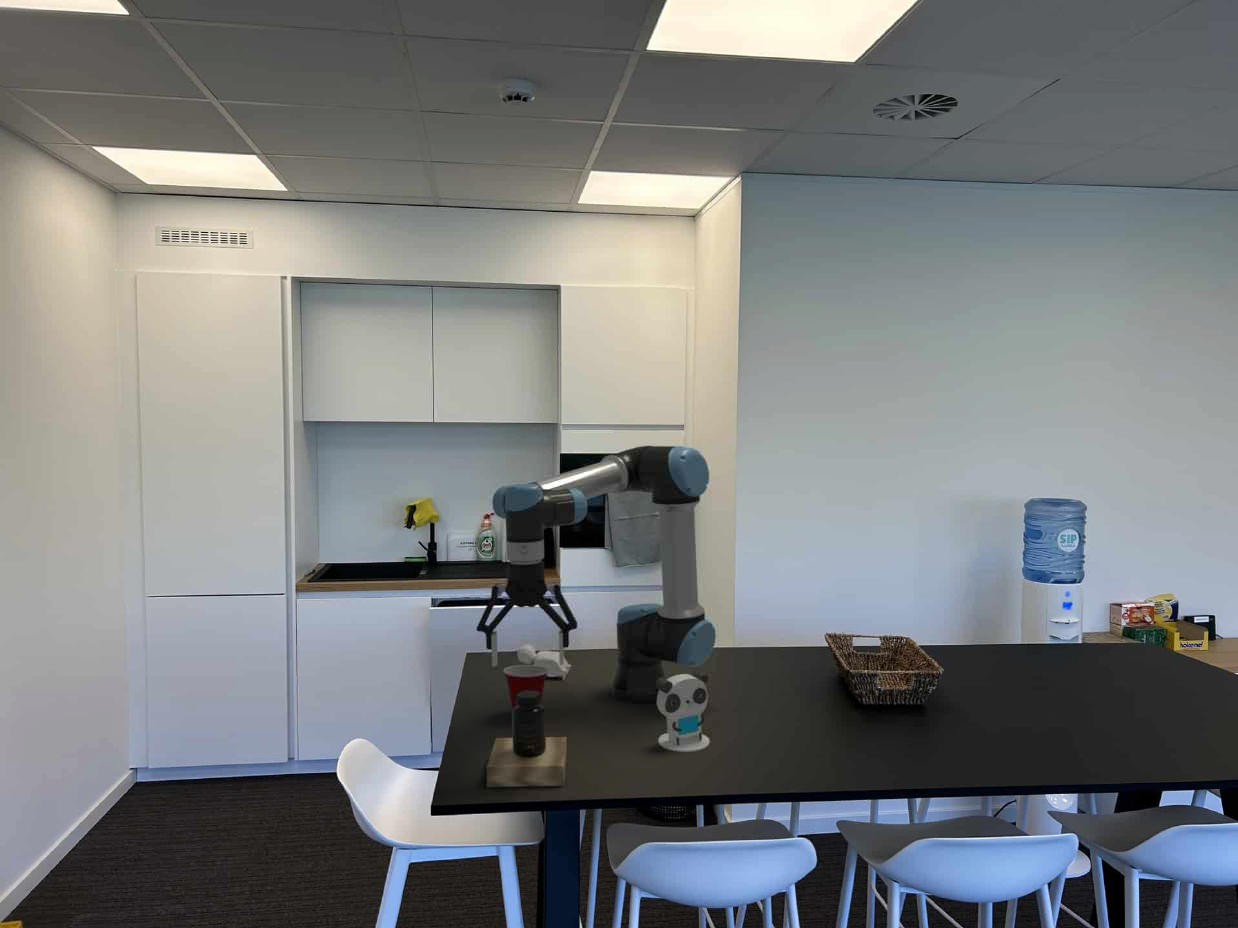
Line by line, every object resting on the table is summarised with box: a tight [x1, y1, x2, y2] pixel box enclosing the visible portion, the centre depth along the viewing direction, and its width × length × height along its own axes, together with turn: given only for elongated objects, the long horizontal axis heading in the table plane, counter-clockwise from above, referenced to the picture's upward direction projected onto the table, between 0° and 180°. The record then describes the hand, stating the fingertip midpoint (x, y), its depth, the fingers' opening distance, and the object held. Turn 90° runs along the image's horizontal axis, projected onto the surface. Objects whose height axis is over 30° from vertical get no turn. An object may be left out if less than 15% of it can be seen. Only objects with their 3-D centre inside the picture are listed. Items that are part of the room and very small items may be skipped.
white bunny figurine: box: [516, 643, 572, 681], centre depth 242 cm, size 9×8×15 cm
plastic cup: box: [503, 664, 549, 710], centre depth 209 cm, size 11×11×12 cm
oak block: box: [486, 736, 568, 788], centre depth 179 cm, size 15×15×4 cm
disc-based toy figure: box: [655, 670, 711, 753], centre depth 193 cm, size 12×11×15 cm
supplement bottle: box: [511, 691, 547, 757], centre depth 178 cm, size 7×7×12 cm
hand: (528, 663), depth 178 cm, fingers open, 13 cm apart
